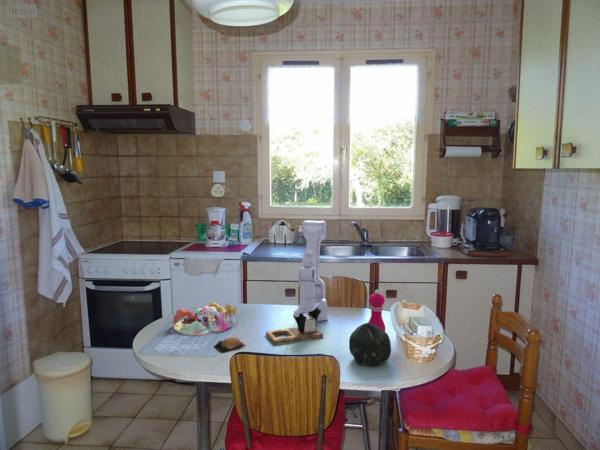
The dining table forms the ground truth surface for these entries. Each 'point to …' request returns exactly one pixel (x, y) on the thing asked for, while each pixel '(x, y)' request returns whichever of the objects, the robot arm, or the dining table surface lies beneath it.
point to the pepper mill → (377, 309)
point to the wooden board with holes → (291, 335)
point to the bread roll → (229, 345)
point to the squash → (370, 344)
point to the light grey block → (309, 325)
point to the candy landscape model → (205, 320)
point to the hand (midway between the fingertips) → (307, 329)
